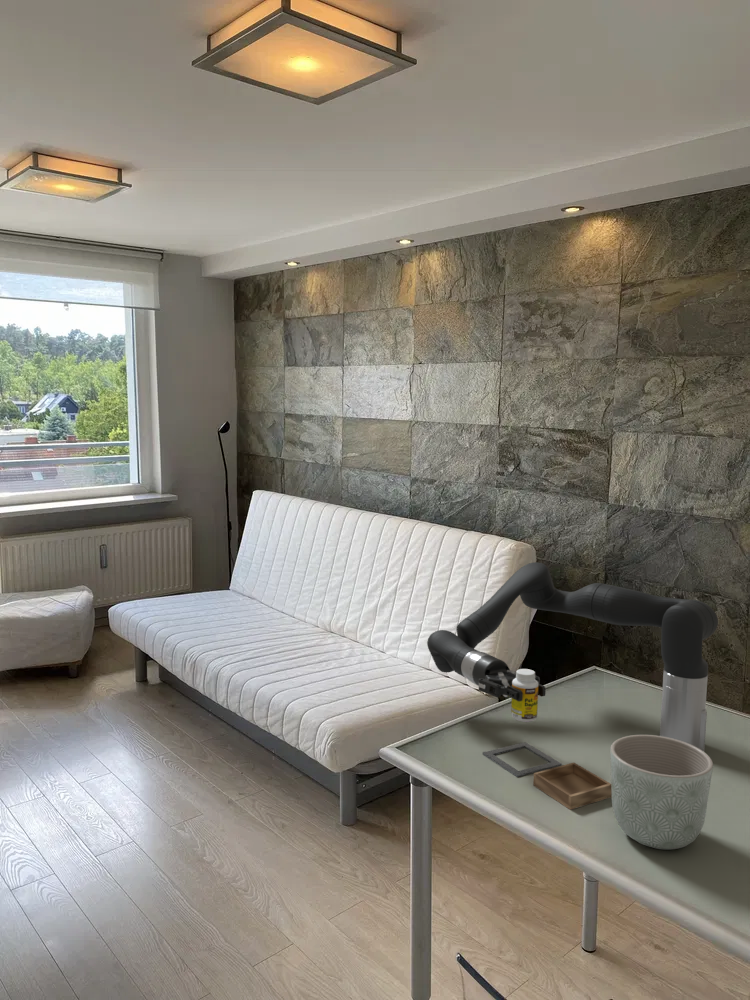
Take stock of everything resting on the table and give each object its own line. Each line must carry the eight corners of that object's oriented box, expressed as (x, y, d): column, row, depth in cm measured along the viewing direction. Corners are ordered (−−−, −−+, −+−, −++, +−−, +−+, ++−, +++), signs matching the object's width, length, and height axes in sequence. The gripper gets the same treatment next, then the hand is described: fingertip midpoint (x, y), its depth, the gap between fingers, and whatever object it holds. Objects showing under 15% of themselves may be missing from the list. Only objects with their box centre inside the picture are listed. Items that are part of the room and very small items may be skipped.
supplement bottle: (524, 724, 161) (525, 677, 160) (505, 716, 165) (506, 670, 164) (542, 719, 164) (544, 672, 163) (524, 710, 168) (525, 665, 167)
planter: (586, 829, 138) (590, 748, 137) (642, 802, 148) (647, 727, 147) (671, 875, 125) (676, 786, 123) (726, 842, 135) (732, 759, 133)
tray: (573, 774, 159) (573, 762, 159) (611, 797, 150) (612, 784, 150) (533, 785, 154) (533, 773, 154) (570, 809, 145) (570, 796, 145)
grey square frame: (525, 743, 174) (525, 742, 174) (561, 765, 163) (561, 763, 163) (482, 754, 168) (482, 752, 168) (517, 777, 158) (517, 775, 158)
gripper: (459, 659, 172) (506, 682, 158) (509, 650, 179) (559, 671, 165) (458, 691, 173) (505, 717, 159) (509, 681, 180) (558, 705, 165)
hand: (532, 694), depth 162 cm, fingers closed on supplement bottle, 5 cm apart
